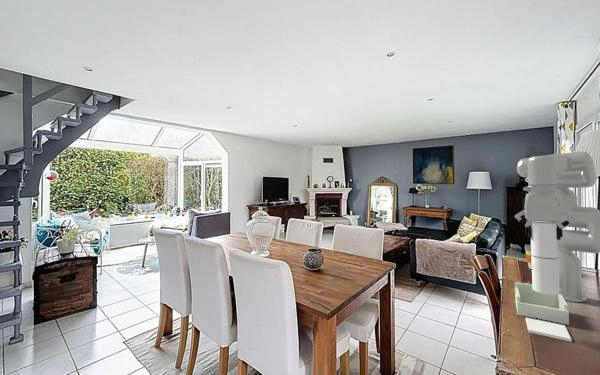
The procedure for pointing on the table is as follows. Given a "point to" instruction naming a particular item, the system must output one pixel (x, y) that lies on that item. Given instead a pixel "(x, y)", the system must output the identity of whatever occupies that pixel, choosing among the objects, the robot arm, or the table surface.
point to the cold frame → (540, 304)
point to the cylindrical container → (544, 257)
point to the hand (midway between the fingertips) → (543, 238)
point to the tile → (548, 329)
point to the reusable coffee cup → (528, 255)
